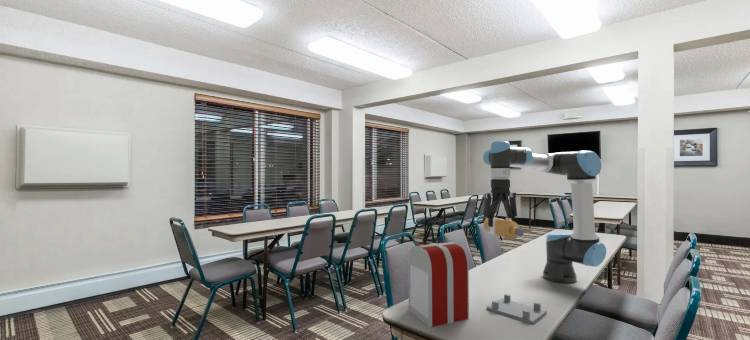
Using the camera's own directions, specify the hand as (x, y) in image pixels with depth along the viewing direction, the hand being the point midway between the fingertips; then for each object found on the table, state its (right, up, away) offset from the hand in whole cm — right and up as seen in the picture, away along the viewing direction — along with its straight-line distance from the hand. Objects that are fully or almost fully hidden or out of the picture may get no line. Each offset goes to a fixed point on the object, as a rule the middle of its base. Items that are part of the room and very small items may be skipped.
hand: (500, 234), depth 138 cm
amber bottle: (+1, -1, -2) cm, 3 cm away
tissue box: (-28, -30, -9) cm, 41 cm away
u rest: (+3, -29, -7) cm, 30 cm away
